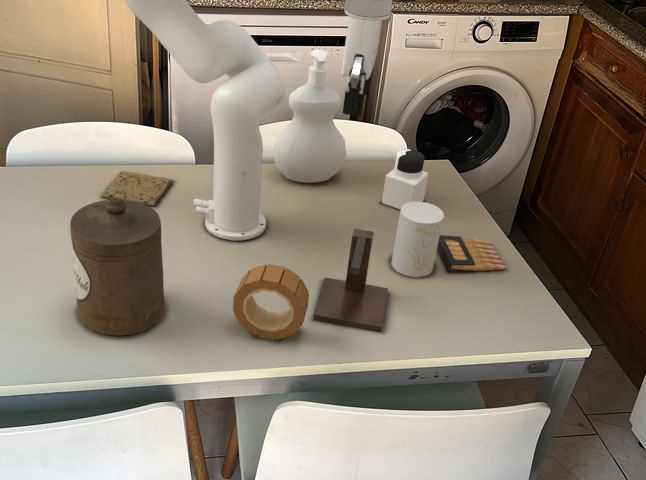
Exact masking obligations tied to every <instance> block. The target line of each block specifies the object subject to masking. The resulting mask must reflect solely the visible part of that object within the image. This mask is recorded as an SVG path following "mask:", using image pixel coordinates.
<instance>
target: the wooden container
mask: <svg viewBox="0 0 646 480" xmlns="http://www.w3.org/2000/svg"><path fill="white" fill-rule="evenodd" d="M69 229H70V239H71V251H72V261H73V276H74V287H75V297H76V305H77V314H78V318H79V320H80V321H81V323H82V324H83V325H84V327H85V326H86V328H87V329H90V330H92V331H94V332H96V333H97V334H102V335H107V336H116V337H117V336H120V337H121V336H128V335H129V336H130V335H134V334H139V333H141V332H145V331H146V330H148V329H150V328H152V327H153V326H155V325H156V324H157V323H158V322H159V321H160V319H161V318H162V317H163V314H164V311H165V294H164V293H165V288H164V263H163V248H162V247H163V245H162V221H161V217H160V215H159V213H158V212H157V211H156V210H155V209H154V208H152V206H150V205H149V206H148V205H145V204H142V203H139V202H135V201H130V200H122V199H119V198H116V197H114V198H108V199H105V200H99V201H95V202H92V203H89V204H86V205H84V206H82V207H80V208H79V209H78V210H76V211H75V212H74V213H73V214H72V216H71V219H70V223H69Z"/></svg>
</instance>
